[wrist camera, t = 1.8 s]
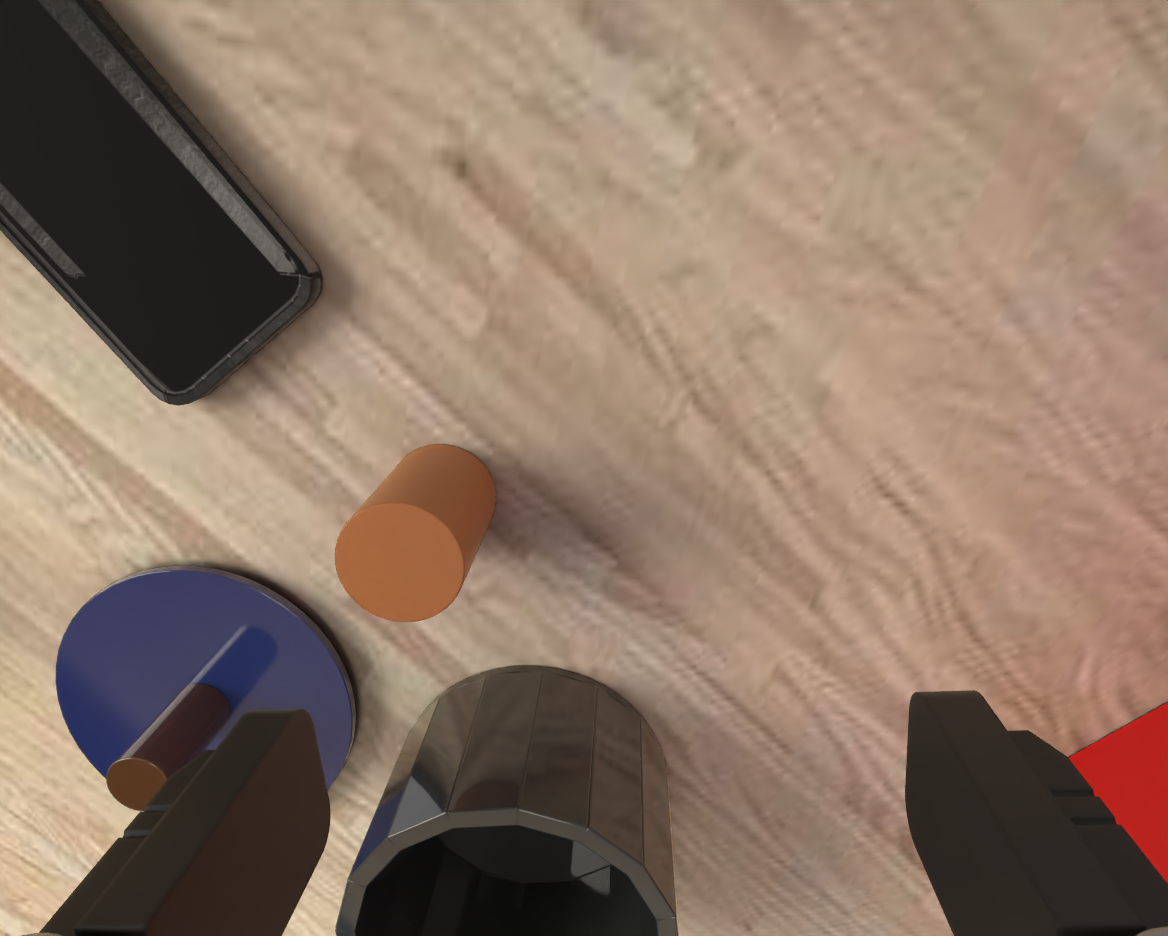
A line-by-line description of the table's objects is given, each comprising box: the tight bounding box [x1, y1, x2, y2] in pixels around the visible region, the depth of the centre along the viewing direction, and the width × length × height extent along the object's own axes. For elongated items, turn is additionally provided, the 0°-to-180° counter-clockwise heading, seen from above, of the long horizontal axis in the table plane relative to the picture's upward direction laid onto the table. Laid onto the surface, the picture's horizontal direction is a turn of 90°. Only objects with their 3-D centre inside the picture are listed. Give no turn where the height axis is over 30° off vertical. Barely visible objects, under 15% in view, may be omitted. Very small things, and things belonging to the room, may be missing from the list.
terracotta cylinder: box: [335, 444, 496, 622], centre depth 28 cm, size 4×4×6 cm
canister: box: [335, 666, 679, 936], centre depth 32 cm, size 12×12×8 cm
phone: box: [0, 0, 322, 405], centre depth 28 cm, size 8×1×15 cm
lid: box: [56, 566, 356, 811], centre depth 32 cm, size 13×13×6 cm
